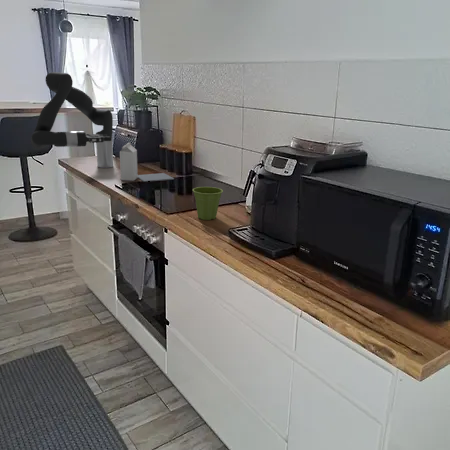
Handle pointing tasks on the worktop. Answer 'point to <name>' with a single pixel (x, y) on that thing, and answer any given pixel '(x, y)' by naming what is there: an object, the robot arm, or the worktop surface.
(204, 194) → the plant pot
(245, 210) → the worktop surface
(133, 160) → the milk carton
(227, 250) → the worktop surface
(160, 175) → the mat
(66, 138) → the robot arm
